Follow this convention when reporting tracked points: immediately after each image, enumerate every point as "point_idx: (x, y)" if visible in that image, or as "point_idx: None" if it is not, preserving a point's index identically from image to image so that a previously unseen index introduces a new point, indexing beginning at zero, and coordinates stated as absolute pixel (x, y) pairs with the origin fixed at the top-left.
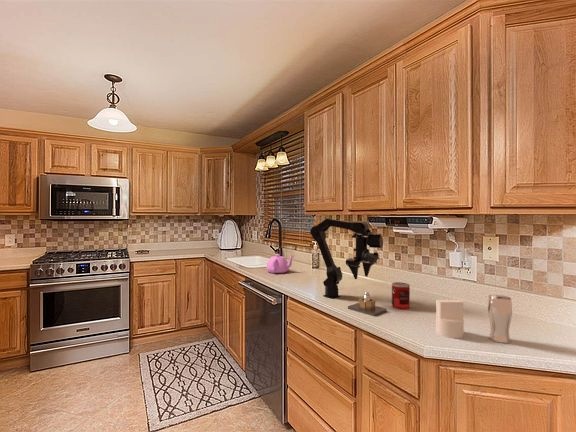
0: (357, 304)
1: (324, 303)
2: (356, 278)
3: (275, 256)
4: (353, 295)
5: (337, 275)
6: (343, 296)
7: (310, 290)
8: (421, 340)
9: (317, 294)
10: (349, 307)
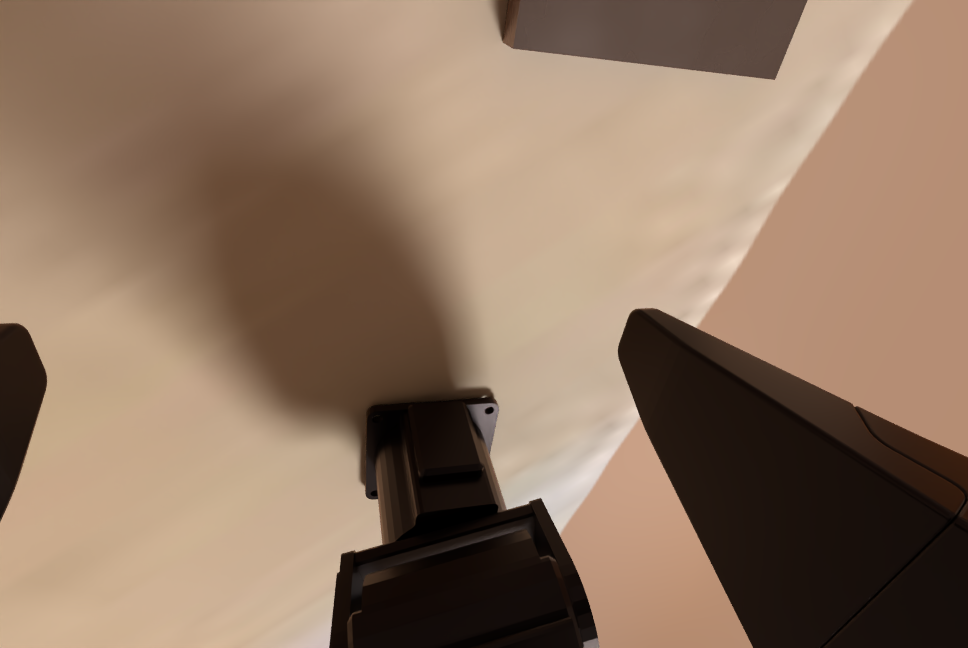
0: (648, 17)
1: None
2: (663, 315)
3: None
4: (175, 356)
5: (571, 625)
6: (326, 390)
7: None
8: None
9: None
10: (779, 50)
